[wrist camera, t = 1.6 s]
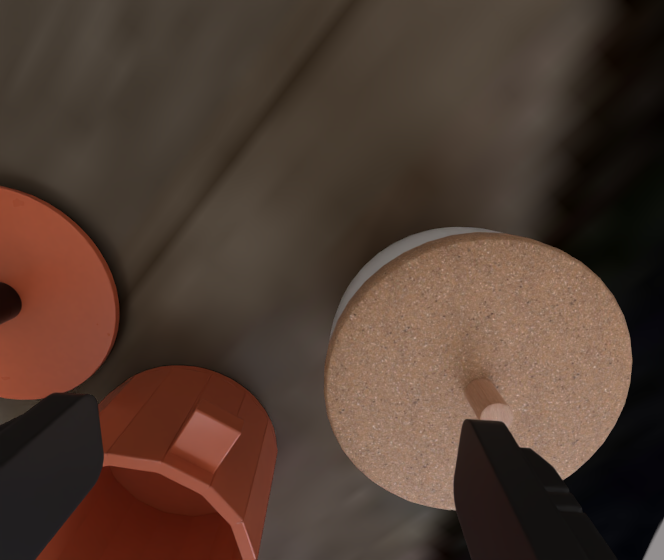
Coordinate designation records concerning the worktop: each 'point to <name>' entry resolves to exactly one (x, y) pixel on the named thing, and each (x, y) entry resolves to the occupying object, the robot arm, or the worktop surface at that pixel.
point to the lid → (50, 300)
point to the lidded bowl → (472, 357)
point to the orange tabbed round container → (175, 472)
